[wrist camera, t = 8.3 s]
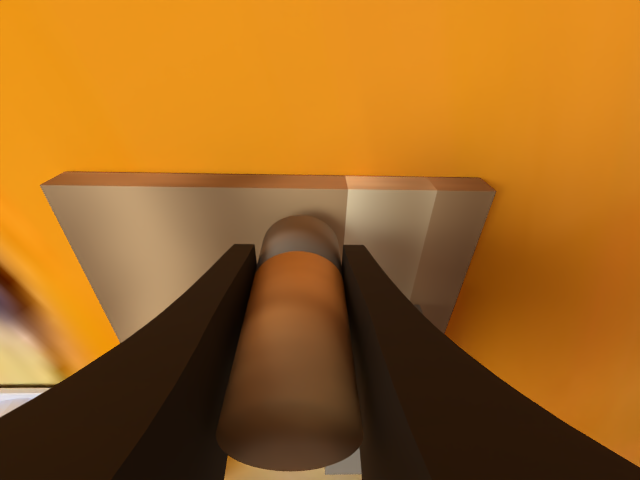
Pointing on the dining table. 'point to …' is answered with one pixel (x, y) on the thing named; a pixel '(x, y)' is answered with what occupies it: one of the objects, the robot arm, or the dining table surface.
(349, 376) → the tan capsule cylinder
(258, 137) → the dining table surface
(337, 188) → the subfloor panel
